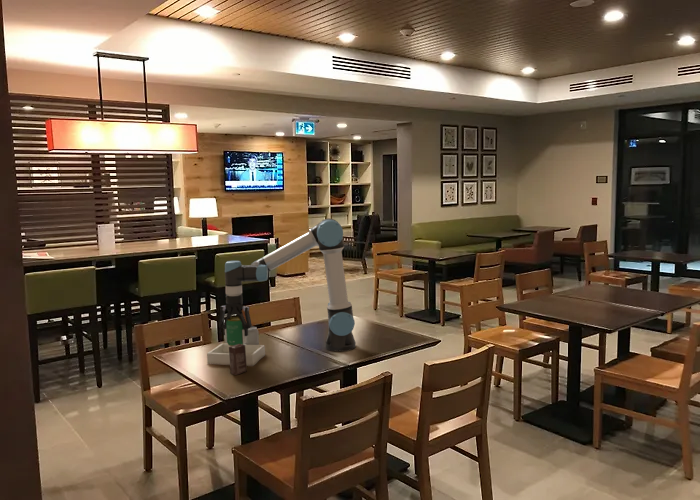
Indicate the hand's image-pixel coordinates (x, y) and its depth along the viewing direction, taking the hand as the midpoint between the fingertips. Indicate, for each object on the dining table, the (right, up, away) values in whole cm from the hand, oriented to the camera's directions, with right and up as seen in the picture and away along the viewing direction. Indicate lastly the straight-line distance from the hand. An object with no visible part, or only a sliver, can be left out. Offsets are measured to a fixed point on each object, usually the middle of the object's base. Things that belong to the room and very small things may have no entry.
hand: (235, 342), depth 262 cm
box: (+5, -10, -17) cm, 21 cm away
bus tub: (0, -8, +1) cm, 8 cm away
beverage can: (0, -1, 0) cm, 1 cm away
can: (+5, -7, +13) cm, 15 cm away
